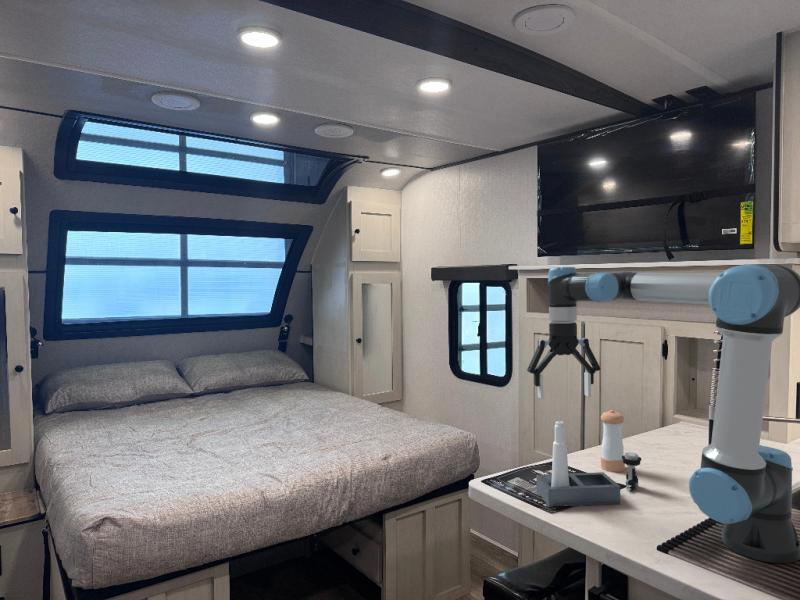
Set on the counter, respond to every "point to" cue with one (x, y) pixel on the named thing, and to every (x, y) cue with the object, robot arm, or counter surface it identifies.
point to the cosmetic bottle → (560, 458)
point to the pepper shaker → (612, 442)
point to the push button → (631, 470)
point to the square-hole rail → (580, 490)
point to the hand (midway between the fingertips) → (564, 396)
